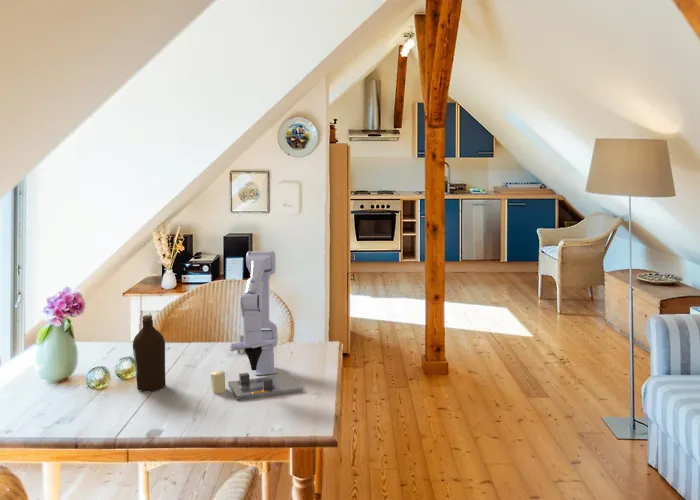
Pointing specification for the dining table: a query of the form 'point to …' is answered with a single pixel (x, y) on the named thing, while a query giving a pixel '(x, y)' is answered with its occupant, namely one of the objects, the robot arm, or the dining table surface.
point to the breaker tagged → (267, 383)
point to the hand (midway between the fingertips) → (253, 369)
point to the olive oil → (149, 357)
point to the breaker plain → (244, 378)
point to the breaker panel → (255, 389)
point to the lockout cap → (218, 381)
